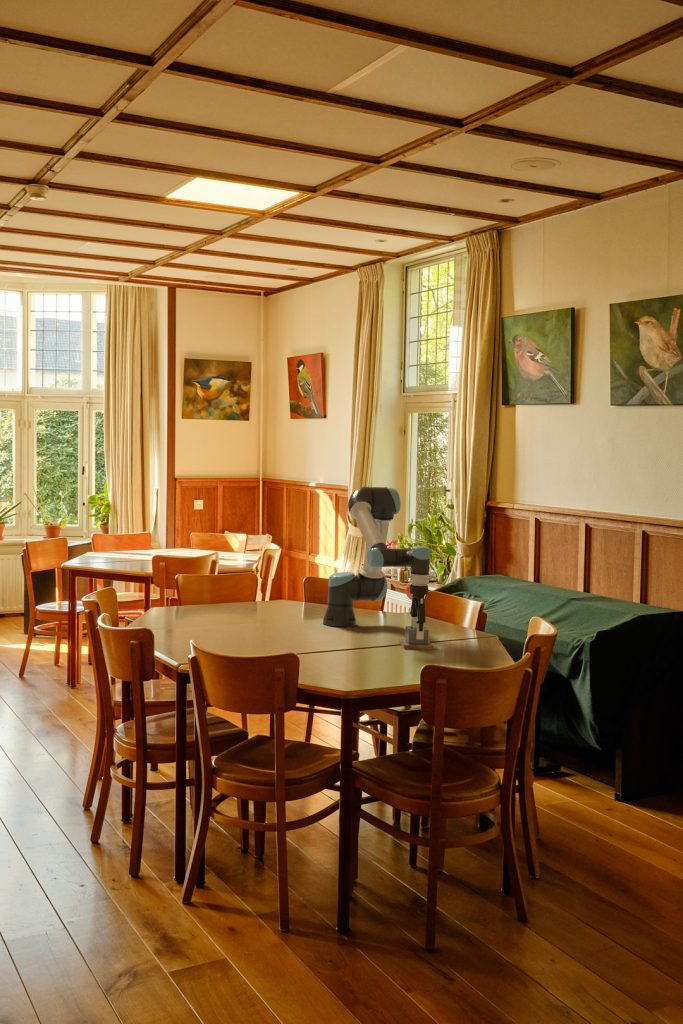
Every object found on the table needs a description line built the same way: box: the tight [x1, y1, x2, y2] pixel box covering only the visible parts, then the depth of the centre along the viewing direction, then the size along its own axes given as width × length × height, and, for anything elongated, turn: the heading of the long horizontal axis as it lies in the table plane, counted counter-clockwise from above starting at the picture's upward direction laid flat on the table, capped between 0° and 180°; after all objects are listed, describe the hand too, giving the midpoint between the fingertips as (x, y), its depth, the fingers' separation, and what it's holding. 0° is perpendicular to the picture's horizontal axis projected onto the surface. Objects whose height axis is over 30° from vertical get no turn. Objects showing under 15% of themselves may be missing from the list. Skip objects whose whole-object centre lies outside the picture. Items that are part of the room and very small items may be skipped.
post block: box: [398, 625, 435, 651], centre depth 408 cm, size 12×12×9 cm
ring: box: [404, 625, 430, 645], centre depth 409 cm, size 8×8×6 cm
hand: (416, 636), depth 408 cm, fingers open, 13 cm apart
